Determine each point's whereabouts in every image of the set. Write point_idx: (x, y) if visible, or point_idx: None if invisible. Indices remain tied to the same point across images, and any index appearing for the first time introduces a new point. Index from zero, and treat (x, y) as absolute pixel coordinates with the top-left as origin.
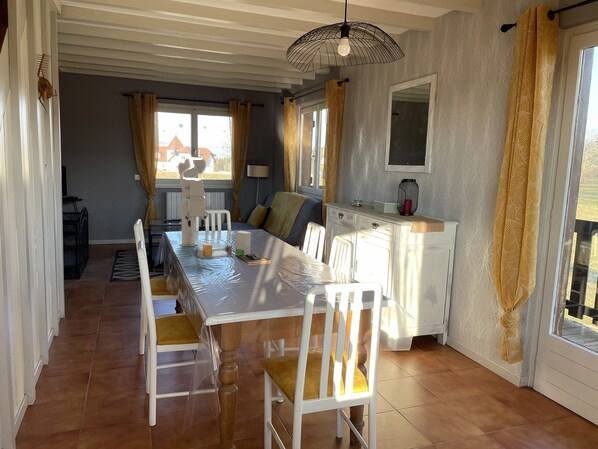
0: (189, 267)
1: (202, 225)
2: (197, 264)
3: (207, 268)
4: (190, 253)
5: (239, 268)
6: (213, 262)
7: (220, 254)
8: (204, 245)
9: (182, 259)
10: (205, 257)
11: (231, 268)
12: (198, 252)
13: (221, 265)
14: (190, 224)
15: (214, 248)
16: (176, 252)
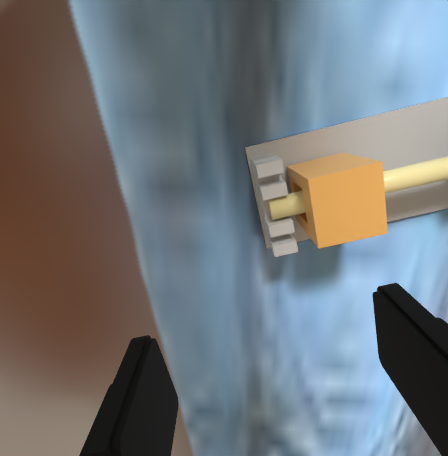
0: (212, 427)
1: (394, 374)
2: (248, 381)
3: (291, 444)
4: (194, 80)
5: (430, 450)
6: (332, 347)
7: (413, 155)
8: (316, 241)
9: (160, 273)
10: (298, 241)
11: (395, 448)
12: (257, 186)
13: (362, 403)
14: (167, 443)
15: (392, 187)
16: (78, 30)
